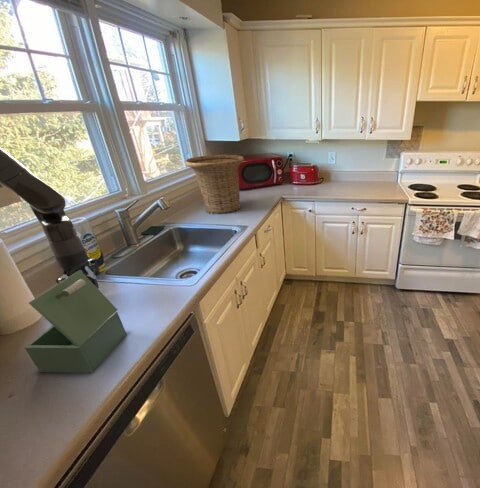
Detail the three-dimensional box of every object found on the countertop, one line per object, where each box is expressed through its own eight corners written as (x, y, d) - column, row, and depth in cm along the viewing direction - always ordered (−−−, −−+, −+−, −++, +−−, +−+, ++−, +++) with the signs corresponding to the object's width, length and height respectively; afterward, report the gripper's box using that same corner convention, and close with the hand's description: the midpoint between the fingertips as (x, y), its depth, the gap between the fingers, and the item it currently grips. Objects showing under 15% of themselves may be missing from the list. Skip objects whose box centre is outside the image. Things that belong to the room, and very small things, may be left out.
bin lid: (28, 302, 62) (43, 296, 61) (78, 270, 74) (91, 264, 73) (76, 347, 68) (91, 341, 67) (115, 310, 80) (128, 305, 79)
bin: (40, 372, 72) (24, 347, 68) (82, 334, 84) (70, 311, 80) (92, 373, 72) (78, 348, 68) (126, 334, 84) (117, 311, 80)
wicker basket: (231, 220, 170) (222, 164, 155) (183, 215, 179) (170, 162, 164) (259, 203, 200) (253, 155, 185) (217, 199, 209) (208, 153, 194)
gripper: (75, 240, 96) (93, 282, 103) (36, 261, 83) (59, 307, 90) (97, 240, 96) (113, 282, 103) (60, 261, 83) (82, 307, 90)
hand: (88, 293), depth 96 cm, fingers closed on lemon, 5 cm apart
